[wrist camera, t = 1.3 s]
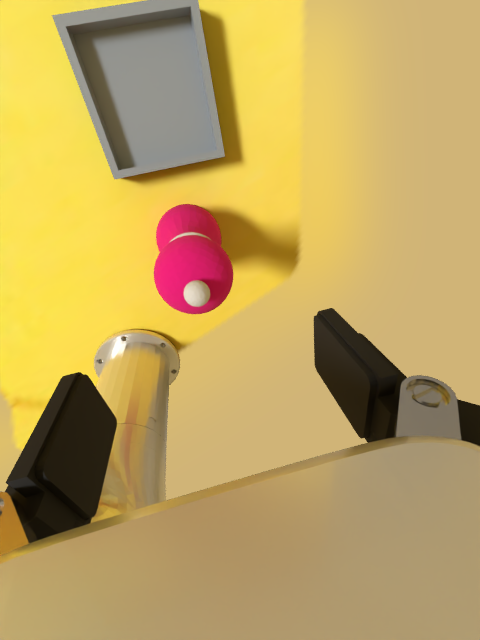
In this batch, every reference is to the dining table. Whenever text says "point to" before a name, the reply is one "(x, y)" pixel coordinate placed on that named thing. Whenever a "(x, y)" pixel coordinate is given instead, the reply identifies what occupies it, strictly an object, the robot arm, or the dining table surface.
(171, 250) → the pepper mill
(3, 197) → the dining table surface
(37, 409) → the dining table surface
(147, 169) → the tray
